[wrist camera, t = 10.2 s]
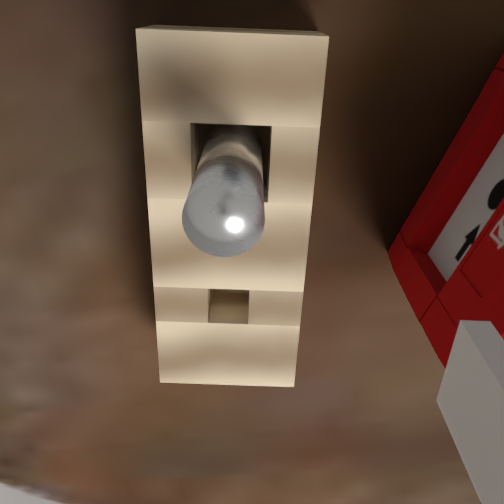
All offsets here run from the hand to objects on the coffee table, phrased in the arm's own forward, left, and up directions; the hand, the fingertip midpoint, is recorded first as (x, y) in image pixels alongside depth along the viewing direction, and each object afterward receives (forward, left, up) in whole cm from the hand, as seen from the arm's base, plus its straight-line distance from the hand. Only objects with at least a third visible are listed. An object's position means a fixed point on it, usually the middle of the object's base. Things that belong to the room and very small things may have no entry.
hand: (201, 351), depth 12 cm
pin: (0, 0, -21) cm, 21 cm away
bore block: (+5, 0, -22) cm, 23 cm away
